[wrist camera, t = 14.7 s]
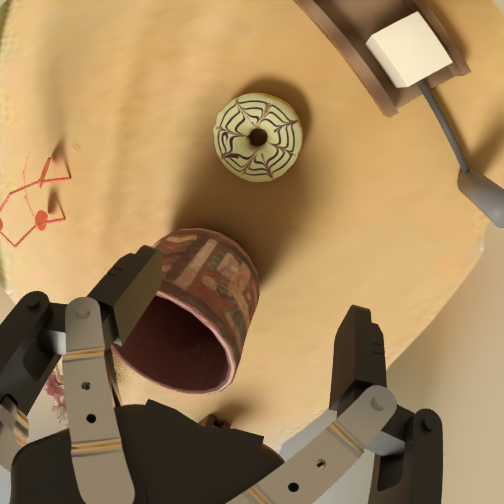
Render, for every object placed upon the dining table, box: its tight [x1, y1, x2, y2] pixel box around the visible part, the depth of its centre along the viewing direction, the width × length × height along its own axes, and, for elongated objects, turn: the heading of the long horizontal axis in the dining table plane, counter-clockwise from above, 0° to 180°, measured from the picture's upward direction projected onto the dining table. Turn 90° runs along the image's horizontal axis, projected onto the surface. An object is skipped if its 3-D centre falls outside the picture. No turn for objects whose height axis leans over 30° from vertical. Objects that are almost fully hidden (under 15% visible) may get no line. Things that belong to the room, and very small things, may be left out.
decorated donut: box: [213, 93, 303, 182], centre depth 35 cm, size 10×11×4 cm
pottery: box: [111, 228, 259, 394], centre depth 40 cm, size 18×18×18 cm
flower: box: [44, 365, 69, 428], centre depth 68 cm, size 20×22×25 cm
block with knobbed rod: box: [365, 11, 504, 228], centre depth 24 cm, size 22×6×10 cm, turn 38°
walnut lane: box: [293, 0, 471, 117], centre depth 23 cm, size 20×12×6 cm, turn 38°
